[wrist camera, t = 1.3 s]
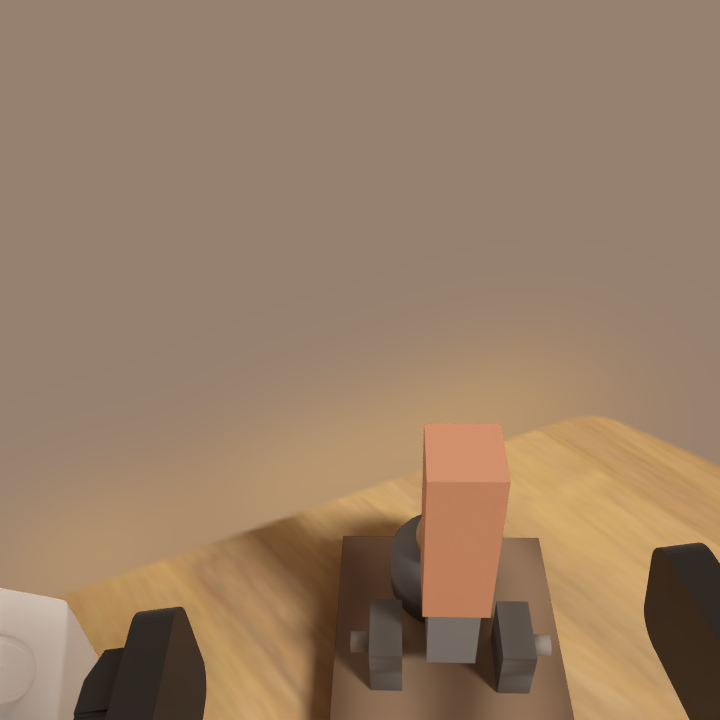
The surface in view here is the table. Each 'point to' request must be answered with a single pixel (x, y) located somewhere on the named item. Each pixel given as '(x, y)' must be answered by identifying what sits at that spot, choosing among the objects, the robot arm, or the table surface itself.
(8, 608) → the milk carton
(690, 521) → the table surface
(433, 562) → the lever
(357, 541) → the base
